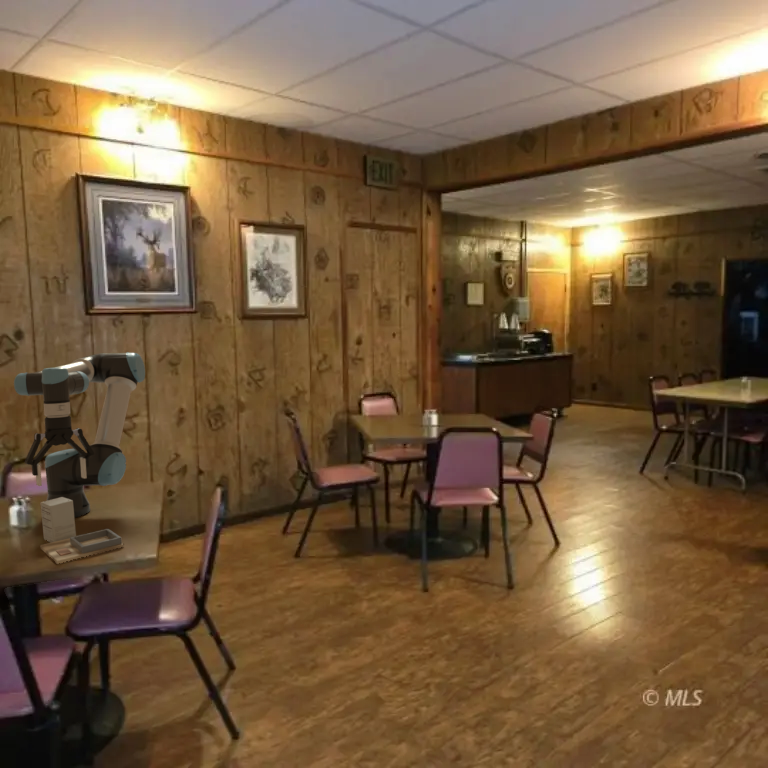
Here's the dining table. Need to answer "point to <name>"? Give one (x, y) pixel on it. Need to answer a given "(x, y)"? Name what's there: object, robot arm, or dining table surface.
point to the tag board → (72, 549)
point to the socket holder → (99, 545)
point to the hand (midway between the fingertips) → (62, 481)
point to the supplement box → (58, 519)
